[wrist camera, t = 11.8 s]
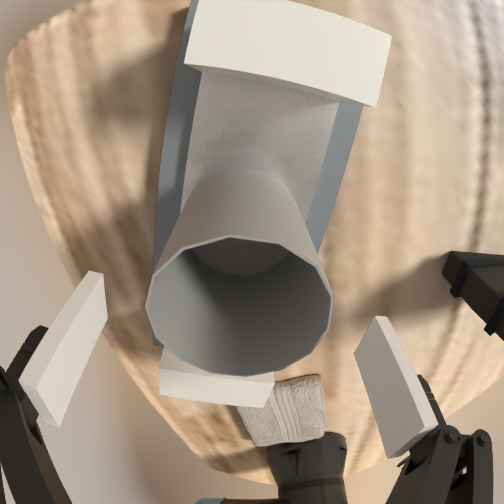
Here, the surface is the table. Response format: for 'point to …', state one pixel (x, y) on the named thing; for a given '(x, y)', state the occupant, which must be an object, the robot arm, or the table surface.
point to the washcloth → (288, 413)
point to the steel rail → (259, 134)
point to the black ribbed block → (479, 286)
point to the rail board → (178, 146)
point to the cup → (240, 279)
